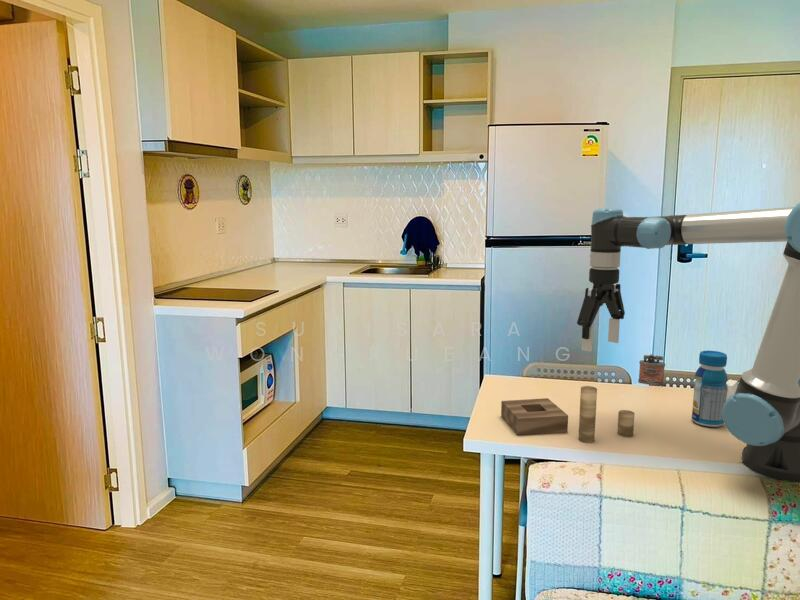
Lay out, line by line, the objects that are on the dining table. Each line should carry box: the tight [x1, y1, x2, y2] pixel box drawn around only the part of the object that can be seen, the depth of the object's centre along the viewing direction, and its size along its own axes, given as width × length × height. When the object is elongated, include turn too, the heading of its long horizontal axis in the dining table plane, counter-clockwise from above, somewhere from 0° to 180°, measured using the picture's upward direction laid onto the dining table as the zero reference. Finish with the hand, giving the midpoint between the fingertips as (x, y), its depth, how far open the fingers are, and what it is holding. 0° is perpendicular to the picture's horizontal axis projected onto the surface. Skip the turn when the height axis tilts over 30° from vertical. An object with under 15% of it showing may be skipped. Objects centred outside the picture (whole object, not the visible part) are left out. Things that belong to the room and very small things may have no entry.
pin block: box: [500, 397, 569, 437], centre depth 164 cm, size 14×14×5 cm
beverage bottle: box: [691, 350, 729, 428], centre depth 164 cm, size 8×8×20 cm
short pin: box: [616, 409, 635, 438], centre depth 158 cm, size 4×4×6 cm
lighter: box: [637, 353, 666, 387], centre depth 200 cm, size 8×3×10 cm, turn 62°
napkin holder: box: [726, 379, 739, 401], centre depth 185 cm, size 15×11×6 cm
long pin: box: [578, 385, 598, 444], centre depth 153 cm, size 4×4×14 cm
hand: (600, 346), depth 159 cm, fingers open, 13 cm apart
